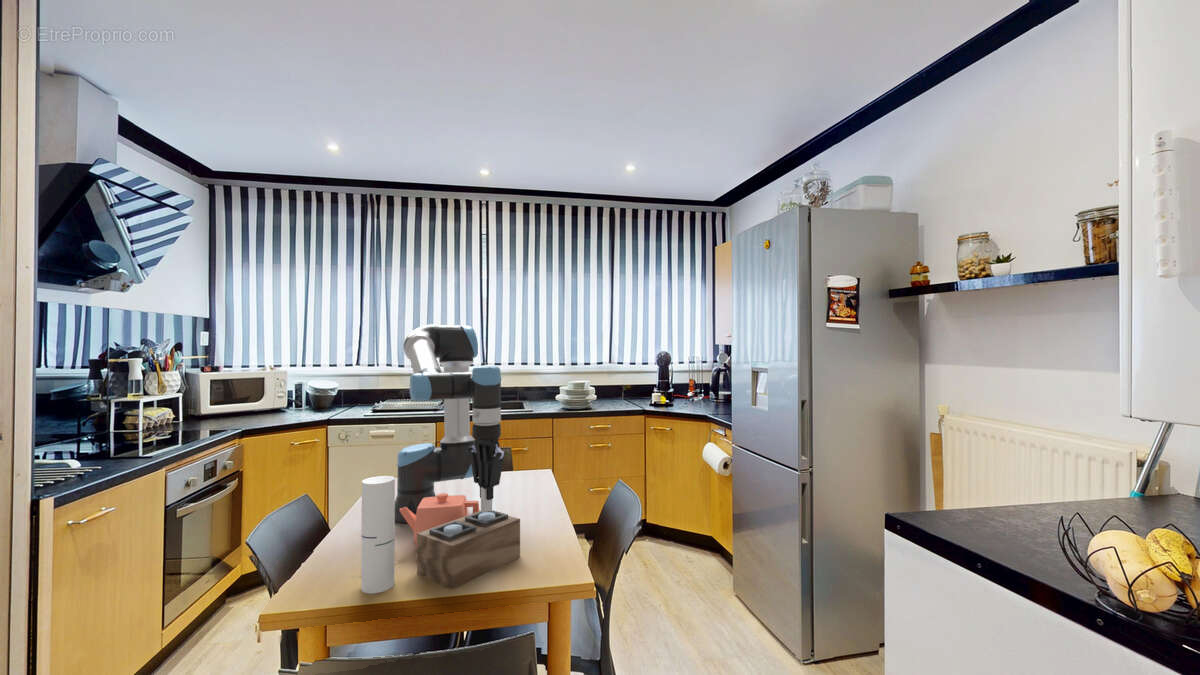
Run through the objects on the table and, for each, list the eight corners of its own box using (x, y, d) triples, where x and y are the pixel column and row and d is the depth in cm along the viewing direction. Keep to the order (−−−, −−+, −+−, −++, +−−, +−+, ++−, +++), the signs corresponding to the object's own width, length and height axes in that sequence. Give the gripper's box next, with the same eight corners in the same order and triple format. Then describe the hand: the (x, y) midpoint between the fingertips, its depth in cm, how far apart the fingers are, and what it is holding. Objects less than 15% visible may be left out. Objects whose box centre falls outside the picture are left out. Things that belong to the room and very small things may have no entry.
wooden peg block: (416, 573, 121) (416, 529, 121) (485, 544, 139) (485, 505, 139) (452, 589, 113) (452, 541, 113) (520, 556, 131) (520, 515, 131)
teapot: (394, 556, 132) (394, 503, 132) (404, 538, 144) (404, 490, 144) (478, 549, 136) (478, 498, 136) (480, 532, 148) (480, 486, 148)
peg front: (440, 564, 121) (440, 528, 121) (454, 558, 125) (454, 523, 125) (451, 569, 119) (451, 532, 119) (465, 562, 122) (465, 526, 122)
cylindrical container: (368, 579, 118) (368, 476, 119) (398, 578, 119) (398, 475, 119) (356, 594, 111) (356, 484, 112) (388, 592, 112) (388, 483, 112)
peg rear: (474, 549, 130) (474, 515, 130) (487, 544, 134) (487, 511, 134) (486, 553, 128) (486, 519, 128) (498, 547, 131) (498, 514, 131)
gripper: (459, 422, 132) (459, 510, 132) (492, 427, 125) (492, 520, 124) (481, 419, 138) (481, 502, 138) (513, 423, 131) (513, 511, 130)
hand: (486, 510), depth 131 cm, fingers closed
